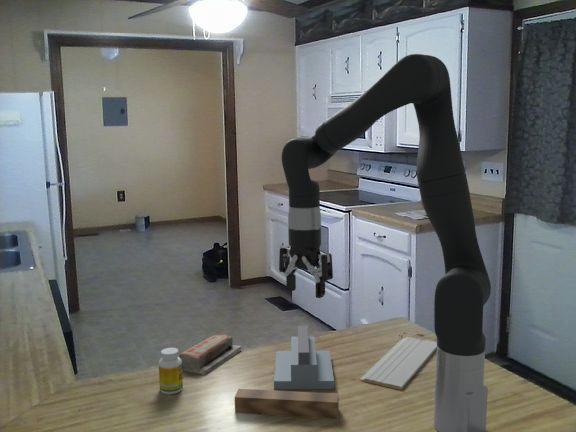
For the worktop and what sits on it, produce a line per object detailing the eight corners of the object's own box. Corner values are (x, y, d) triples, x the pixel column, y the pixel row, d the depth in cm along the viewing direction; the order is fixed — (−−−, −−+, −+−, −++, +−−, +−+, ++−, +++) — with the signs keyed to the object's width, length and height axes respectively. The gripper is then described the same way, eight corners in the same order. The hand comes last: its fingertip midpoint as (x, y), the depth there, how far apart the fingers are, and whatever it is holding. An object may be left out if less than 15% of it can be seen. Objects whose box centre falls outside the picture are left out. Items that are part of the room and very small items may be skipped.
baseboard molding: (353, 381, 143) (401, 393, 137) (354, 370, 142) (401, 381, 136) (398, 339, 169) (439, 347, 163) (398, 330, 168) (440, 337, 162)
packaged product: (203, 358, 145) (171, 352, 149) (204, 377, 145) (172, 370, 150) (241, 334, 160) (211, 329, 165) (242, 351, 161) (212, 345, 166)
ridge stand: (329, 358, 155) (329, 325, 154) (334, 389, 137) (334, 352, 136) (276, 358, 155) (276, 325, 154) (273, 389, 137) (273, 352, 136)
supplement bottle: (159, 385, 140) (158, 347, 138) (182, 383, 141) (181, 345, 139) (159, 395, 135) (157, 356, 133) (183, 393, 136) (181, 354, 134)
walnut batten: (338, 411, 128) (338, 393, 127) (337, 420, 124) (337, 402, 123) (238, 405, 130) (238, 388, 130) (235, 414, 127) (234, 396, 126)
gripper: (270, 224, 137) (272, 292, 140) (318, 231, 128) (319, 303, 130) (291, 220, 143) (293, 285, 145) (339, 226, 133) (339, 295, 136)
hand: (305, 293), depth 138 cm, fingers open, 8 cm apart
